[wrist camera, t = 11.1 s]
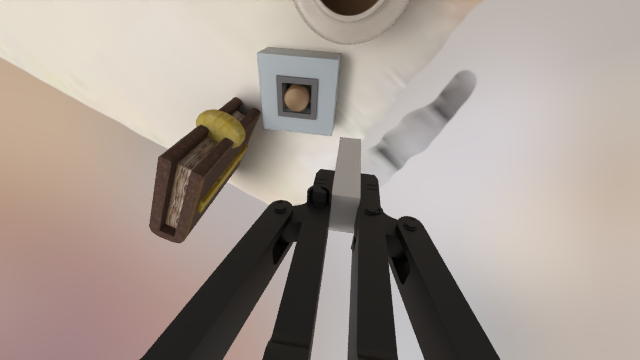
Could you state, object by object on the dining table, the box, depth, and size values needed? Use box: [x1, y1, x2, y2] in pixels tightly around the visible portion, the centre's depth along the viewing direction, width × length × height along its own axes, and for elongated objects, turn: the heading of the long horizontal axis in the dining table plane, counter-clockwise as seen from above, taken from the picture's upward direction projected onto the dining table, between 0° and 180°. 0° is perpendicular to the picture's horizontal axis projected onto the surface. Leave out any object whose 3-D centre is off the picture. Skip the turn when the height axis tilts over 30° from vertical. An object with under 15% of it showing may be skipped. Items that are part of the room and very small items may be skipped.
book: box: [149, 97, 260, 243], centre depth 49 cm, size 22×8×25 cm, turn 151°
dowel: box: [284, 84, 312, 112], centre depth 47 cm, size 4×4×6 cm
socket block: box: [257, 47, 341, 136], centre depth 48 cm, size 14×14×7 cm
